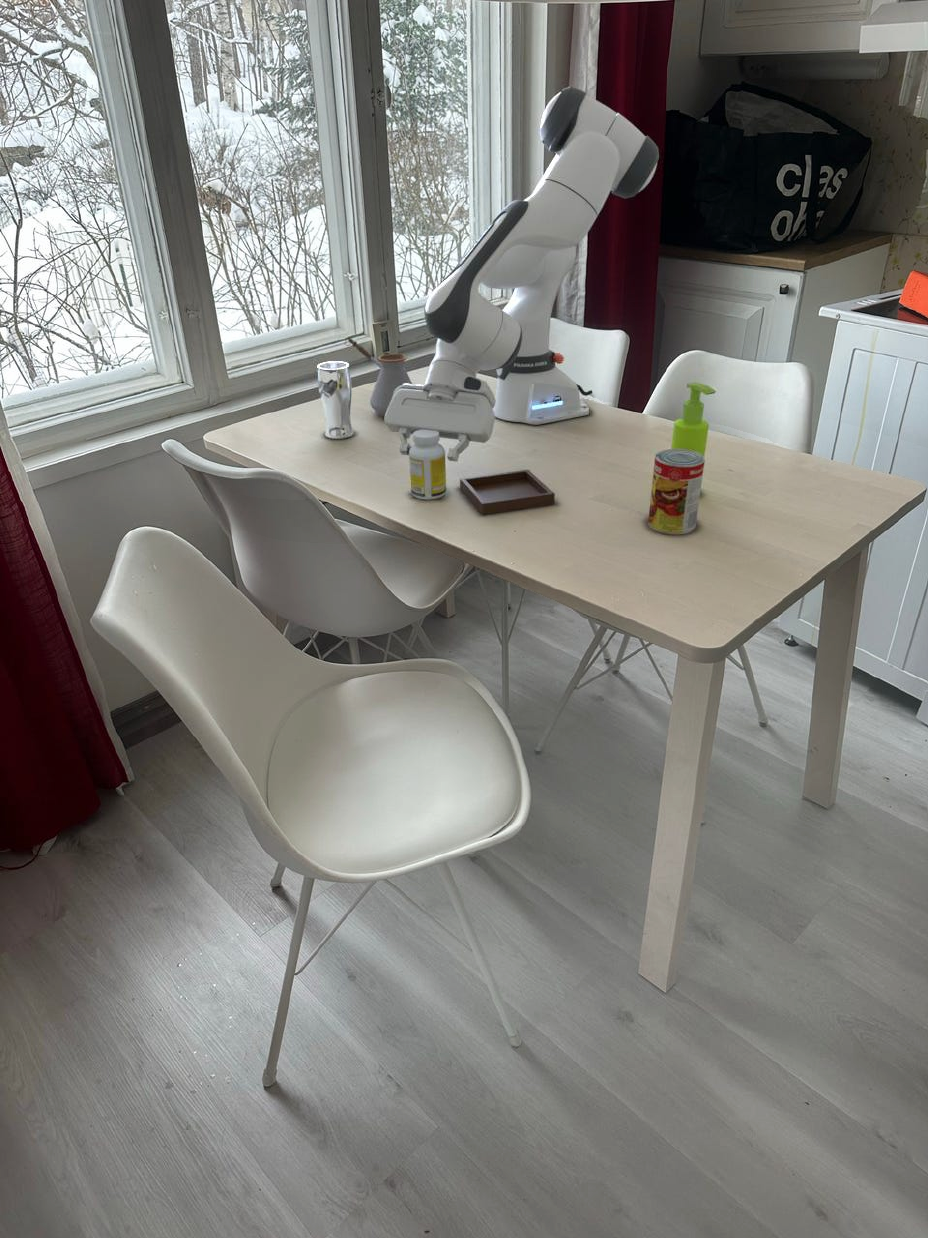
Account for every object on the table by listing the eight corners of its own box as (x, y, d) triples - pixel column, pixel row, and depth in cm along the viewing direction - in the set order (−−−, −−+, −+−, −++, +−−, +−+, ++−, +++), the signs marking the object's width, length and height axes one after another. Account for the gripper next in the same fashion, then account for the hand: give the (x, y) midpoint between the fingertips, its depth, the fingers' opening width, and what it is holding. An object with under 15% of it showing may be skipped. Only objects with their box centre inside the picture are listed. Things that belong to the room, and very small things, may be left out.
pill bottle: (451, 489, 160) (449, 428, 154) (439, 502, 154) (437, 440, 148) (418, 485, 162) (416, 425, 156) (405, 498, 156) (402, 437, 150)
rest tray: (527, 479, 163) (528, 469, 162) (554, 504, 153) (554, 493, 152) (460, 489, 160) (459, 478, 159) (482, 515, 150) (482, 503, 148)
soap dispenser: (684, 503, 153) (698, 391, 142) (659, 490, 158) (671, 381, 148) (709, 497, 155) (725, 386, 145) (684, 484, 160) (698, 377, 150)
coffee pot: (430, 412, 200) (427, 346, 193) (393, 423, 193) (389, 356, 186) (369, 394, 213) (365, 332, 205) (333, 405, 206) (327, 341, 198)
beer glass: (353, 439, 184) (347, 369, 177) (320, 439, 185) (313, 369, 177) (357, 429, 190) (351, 360, 183) (326, 429, 191) (319, 361, 183)
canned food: (657, 511, 150) (664, 445, 144) (701, 520, 146) (711, 453, 140) (641, 528, 144) (648, 460, 138) (687, 538, 140) (696, 468, 134)
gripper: (391, 373, 157) (369, 442, 154) (495, 383, 150) (475, 455, 147) (403, 391, 163) (382, 457, 160) (504, 402, 156) (484, 471, 153)
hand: (427, 456), depth 154 cm, fingers open, 8 cm apart
